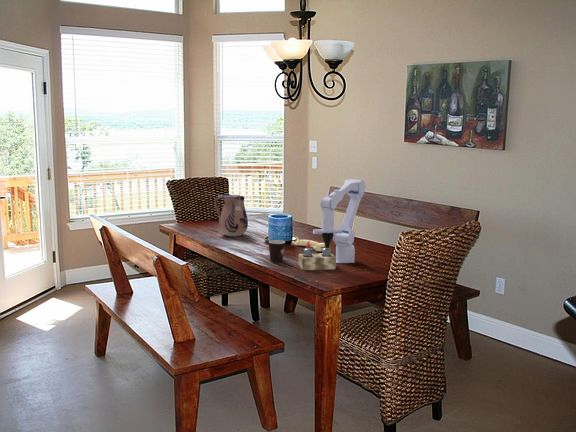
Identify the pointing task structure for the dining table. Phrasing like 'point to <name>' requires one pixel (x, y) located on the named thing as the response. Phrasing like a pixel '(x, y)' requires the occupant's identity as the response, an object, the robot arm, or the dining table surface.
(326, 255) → the peg
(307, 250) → the peg
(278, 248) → the coffee mug
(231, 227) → the ceramic pitcher
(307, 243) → the cat figure
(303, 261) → the block
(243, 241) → the dining table surface
